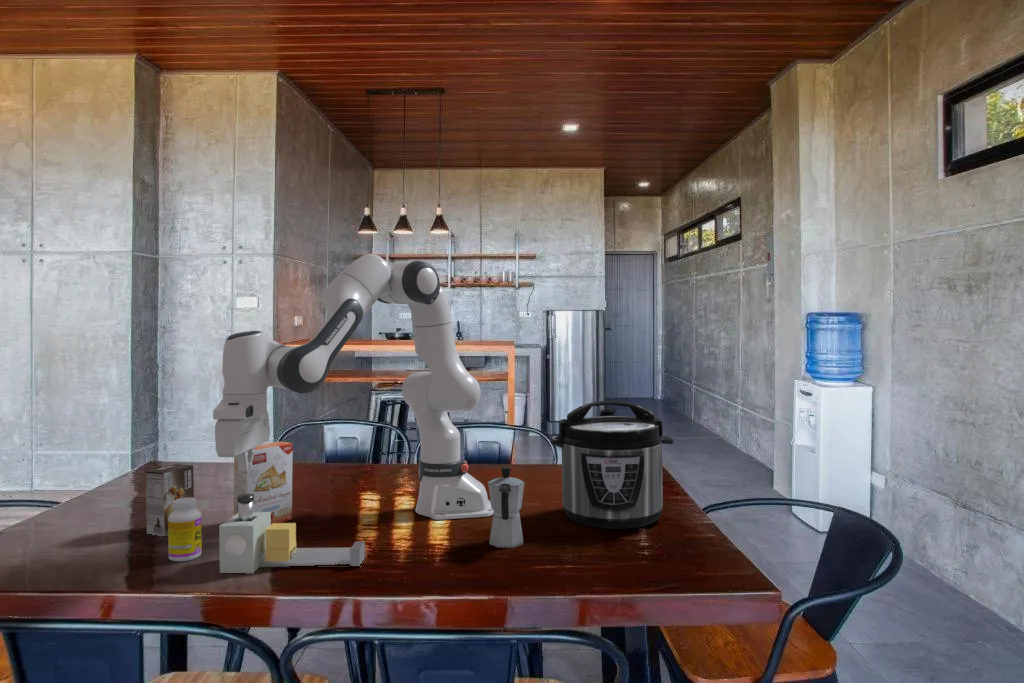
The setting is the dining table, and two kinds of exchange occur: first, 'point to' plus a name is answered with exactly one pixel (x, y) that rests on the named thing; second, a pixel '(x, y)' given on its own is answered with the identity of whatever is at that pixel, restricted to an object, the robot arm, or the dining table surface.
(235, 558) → the cabinet
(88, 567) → the dining table surface
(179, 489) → the coffee box
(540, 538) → the dining table surface
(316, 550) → the slide rail
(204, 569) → the dining table surface
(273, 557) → the rail carriage
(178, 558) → the supplement bottle
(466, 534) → the dining table surface
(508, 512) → the coffee maker
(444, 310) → the robot arm
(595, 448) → the pressure cooker
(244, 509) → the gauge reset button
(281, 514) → the cracker box
